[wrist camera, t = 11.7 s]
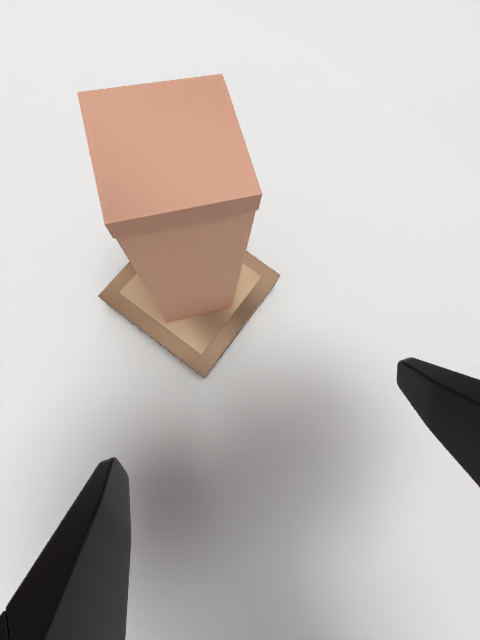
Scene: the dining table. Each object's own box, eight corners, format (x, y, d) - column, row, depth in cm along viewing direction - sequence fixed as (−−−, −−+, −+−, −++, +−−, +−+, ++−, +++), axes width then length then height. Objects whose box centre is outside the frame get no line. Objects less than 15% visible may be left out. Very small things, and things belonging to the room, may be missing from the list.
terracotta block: (232, 307, 21) (262, 194, 9) (166, 323, 21) (104, 224, 9) (216, 248, 22) (222, 73, 10) (152, 261, 22) (77, 92, 9)
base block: (204, 378, 23) (204, 376, 20) (109, 306, 23) (97, 295, 21) (273, 286, 25) (280, 274, 22) (184, 223, 25) (182, 203, 23)
